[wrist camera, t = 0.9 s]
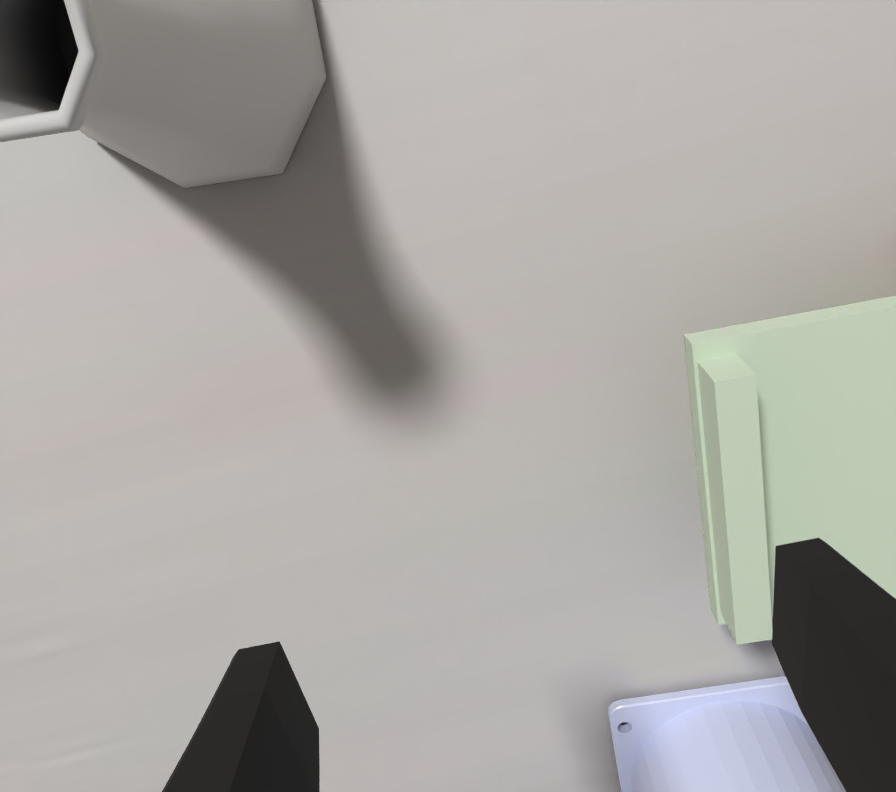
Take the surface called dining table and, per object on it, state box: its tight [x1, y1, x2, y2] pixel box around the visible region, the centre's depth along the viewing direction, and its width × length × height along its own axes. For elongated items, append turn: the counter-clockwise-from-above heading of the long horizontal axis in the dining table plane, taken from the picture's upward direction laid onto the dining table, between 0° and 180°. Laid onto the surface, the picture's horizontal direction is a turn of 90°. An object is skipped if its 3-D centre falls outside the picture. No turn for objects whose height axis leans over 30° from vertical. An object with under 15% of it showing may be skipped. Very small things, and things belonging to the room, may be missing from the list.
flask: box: [0, 0, 327, 188], centre depth 17 cm, size 7×7×10 cm
